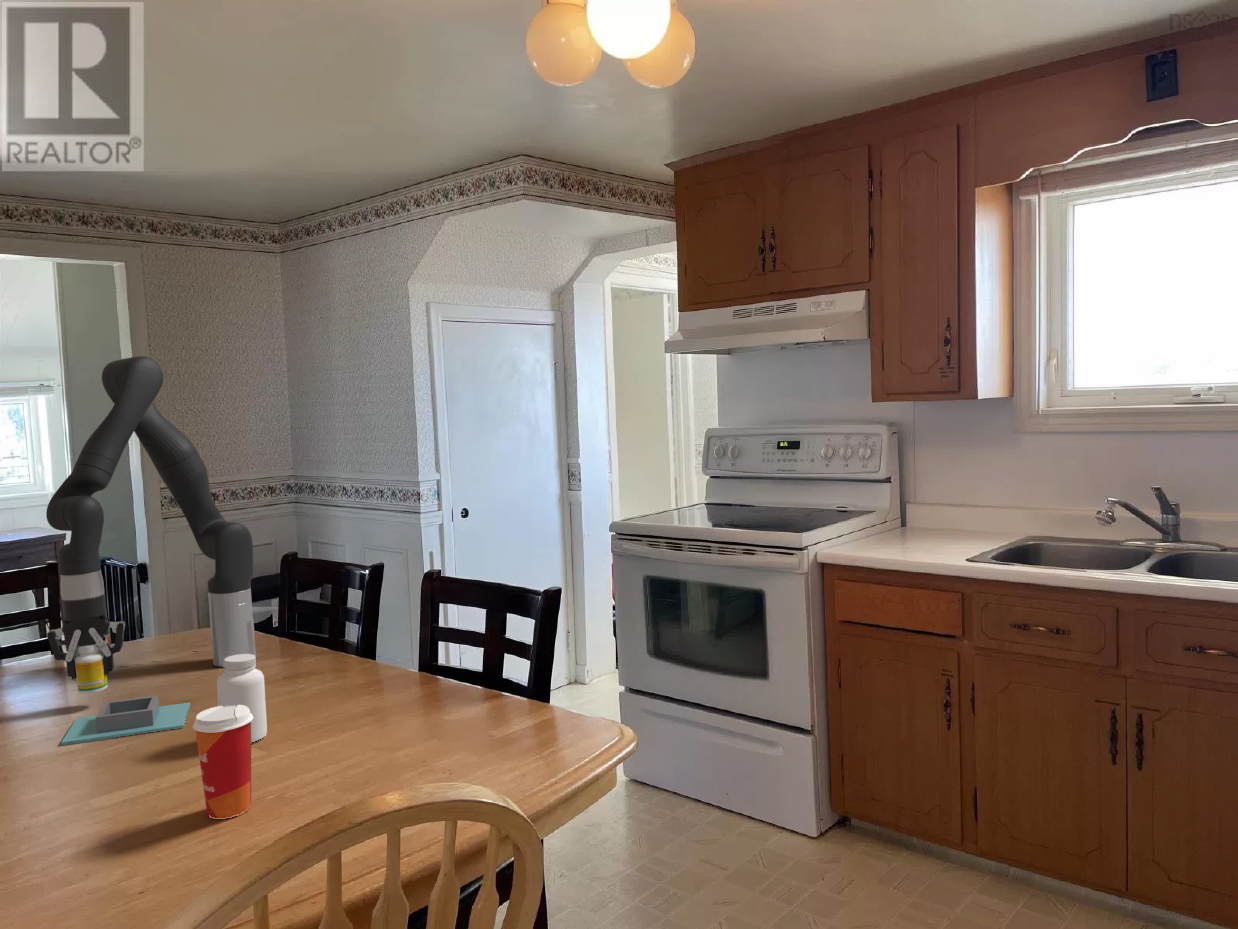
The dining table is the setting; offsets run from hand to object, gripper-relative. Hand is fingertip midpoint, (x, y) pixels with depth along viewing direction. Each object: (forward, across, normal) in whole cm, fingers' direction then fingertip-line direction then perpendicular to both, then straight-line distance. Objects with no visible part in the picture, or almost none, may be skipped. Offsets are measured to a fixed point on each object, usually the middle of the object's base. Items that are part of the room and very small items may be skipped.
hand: (91, 675), depth 185 cm
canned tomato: (+7, +5, -32) cm, 33 cm away
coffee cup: (+7, -28, +64) cm, 70 cm away
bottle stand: (+6, -8, +15) cm, 18 cm away
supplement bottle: (+3, 0, 0) cm, 3 cm away
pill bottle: (+7, -29, +33) cm, 45 cm away
